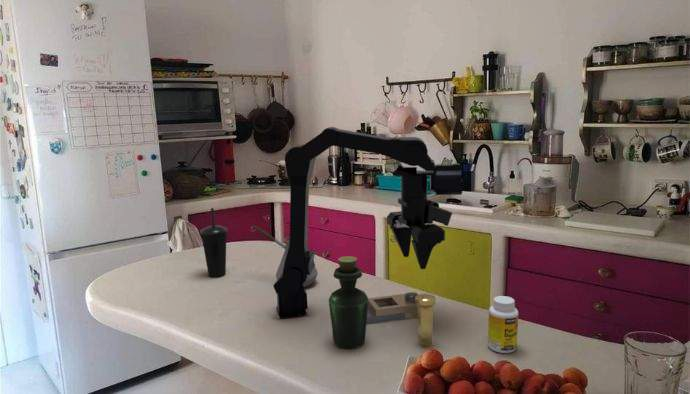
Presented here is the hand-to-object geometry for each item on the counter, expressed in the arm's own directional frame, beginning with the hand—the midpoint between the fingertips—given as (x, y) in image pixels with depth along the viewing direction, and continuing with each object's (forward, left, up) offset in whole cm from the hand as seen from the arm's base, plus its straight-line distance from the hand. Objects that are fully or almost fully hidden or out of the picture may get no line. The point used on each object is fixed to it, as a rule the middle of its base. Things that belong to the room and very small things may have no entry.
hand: (414, 262), depth 114 cm
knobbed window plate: (-6, +3, -13) cm, 14 cm away
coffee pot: (-26, +33, -13) cm, 44 cm away
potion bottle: (-18, -8, -13) cm, 23 cm away
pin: (-3, -13, -13) cm, 19 cm away
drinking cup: (-44, +44, -13) cm, 64 cm away
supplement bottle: (+11, -19, -13) cm, 26 cm away
